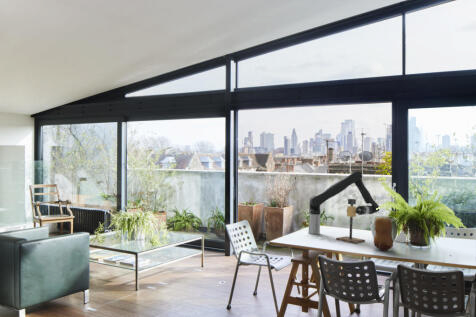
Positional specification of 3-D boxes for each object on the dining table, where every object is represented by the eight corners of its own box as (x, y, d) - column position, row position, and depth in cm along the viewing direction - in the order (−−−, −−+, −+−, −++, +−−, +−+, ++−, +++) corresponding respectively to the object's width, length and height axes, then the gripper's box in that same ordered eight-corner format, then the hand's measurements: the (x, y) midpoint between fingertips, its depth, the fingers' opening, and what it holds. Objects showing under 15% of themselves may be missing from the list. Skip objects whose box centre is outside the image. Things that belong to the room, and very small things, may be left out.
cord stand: (336, 239, 346) (337, 198, 346) (346, 238, 355) (347, 197, 355) (355, 243, 332) (356, 200, 332) (365, 241, 341) (366, 199, 341)
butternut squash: (384, 247, 320) (385, 215, 320) (396, 251, 307) (397, 217, 307) (369, 248, 315) (370, 215, 315) (381, 252, 302) (382, 218, 302)
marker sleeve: (346, 216, 344) (347, 206, 344) (350, 215, 347) (350, 206, 347) (352, 216, 340) (352, 207, 340) (355, 216, 343) (356, 206, 343)
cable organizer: (413, 241, 348) (414, 227, 348) (411, 243, 339) (411, 229, 339) (395, 239, 356) (395, 225, 356) (392, 241, 347) (392, 227, 347)
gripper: (355, 204, 359) (344, 205, 349) (370, 206, 349) (359, 207, 338) (355, 213, 359) (344, 214, 349) (370, 215, 349) (359, 217, 338)
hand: (351, 211), depth 343 cm, fingers open, 8 cm apart
